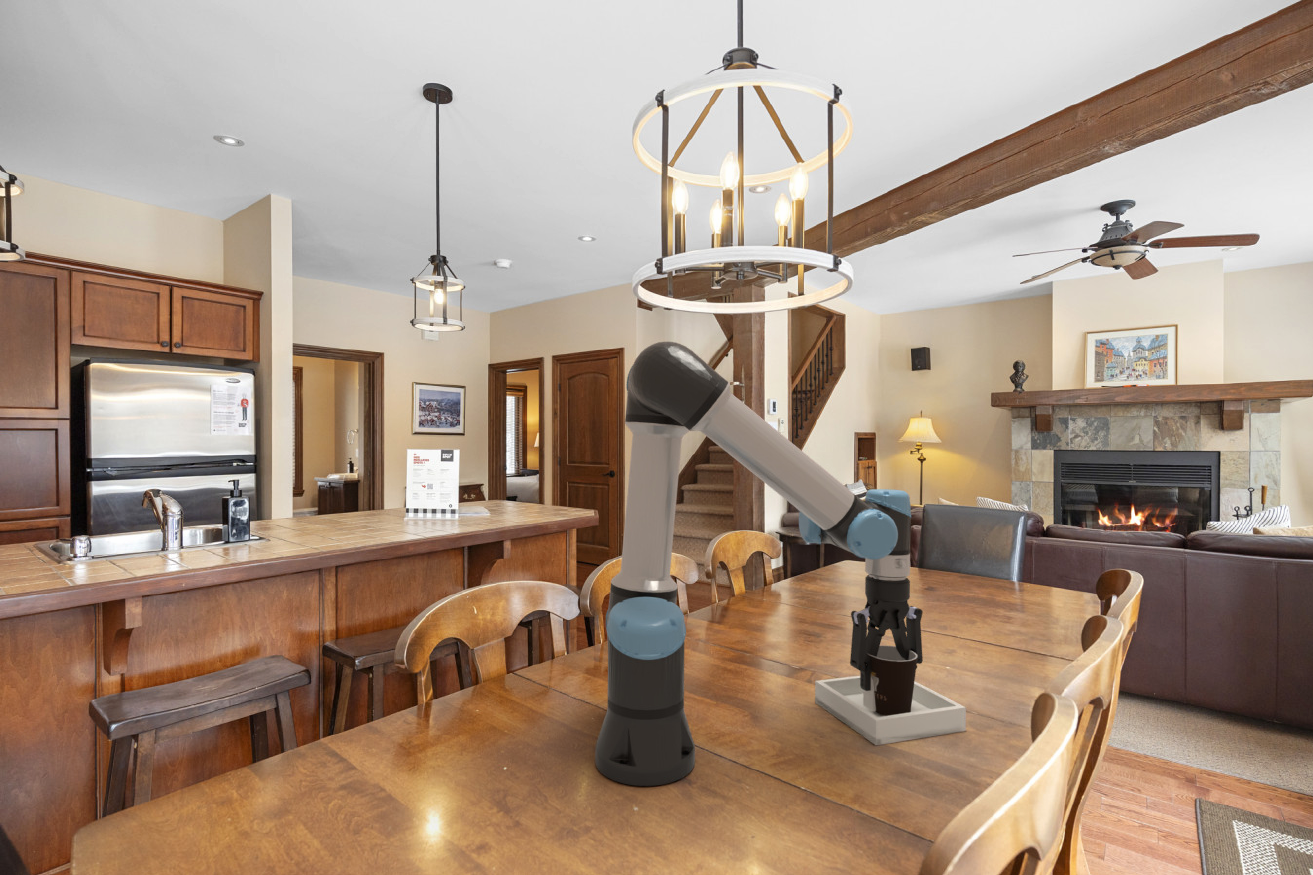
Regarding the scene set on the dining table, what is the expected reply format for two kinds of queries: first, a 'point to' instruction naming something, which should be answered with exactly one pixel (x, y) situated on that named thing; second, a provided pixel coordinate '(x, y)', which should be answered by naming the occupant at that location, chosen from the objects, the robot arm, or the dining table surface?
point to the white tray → (924, 720)
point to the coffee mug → (893, 680)
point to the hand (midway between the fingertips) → (886, 705)
